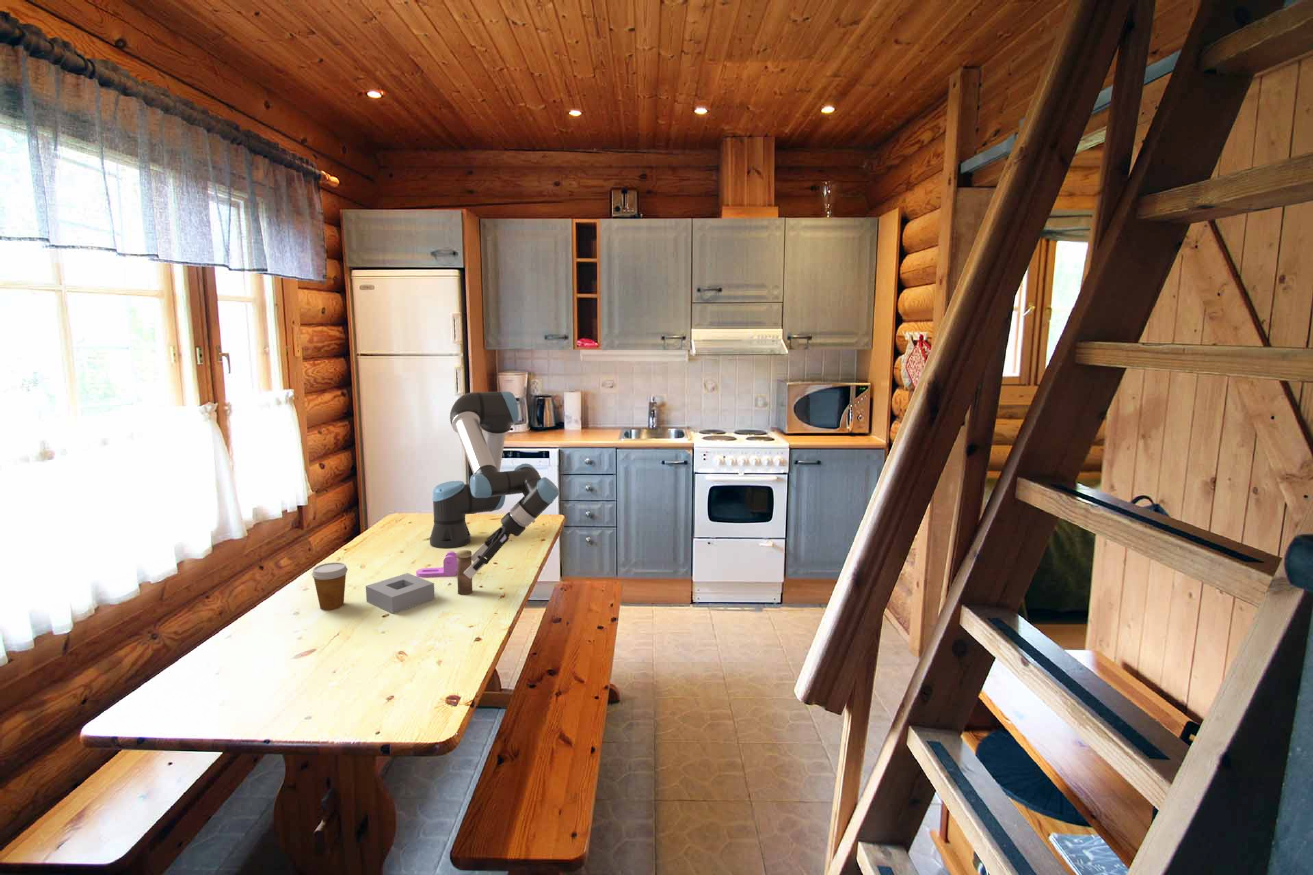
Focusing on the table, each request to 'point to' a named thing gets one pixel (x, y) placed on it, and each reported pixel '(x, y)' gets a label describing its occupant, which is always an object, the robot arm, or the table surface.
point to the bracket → (441, 568)
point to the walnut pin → (462, 566)
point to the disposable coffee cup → (330, 584)
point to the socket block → (400, 592)
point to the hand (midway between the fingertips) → (469, 567)
